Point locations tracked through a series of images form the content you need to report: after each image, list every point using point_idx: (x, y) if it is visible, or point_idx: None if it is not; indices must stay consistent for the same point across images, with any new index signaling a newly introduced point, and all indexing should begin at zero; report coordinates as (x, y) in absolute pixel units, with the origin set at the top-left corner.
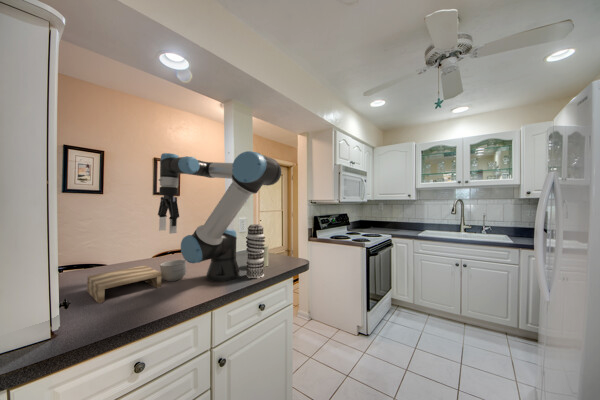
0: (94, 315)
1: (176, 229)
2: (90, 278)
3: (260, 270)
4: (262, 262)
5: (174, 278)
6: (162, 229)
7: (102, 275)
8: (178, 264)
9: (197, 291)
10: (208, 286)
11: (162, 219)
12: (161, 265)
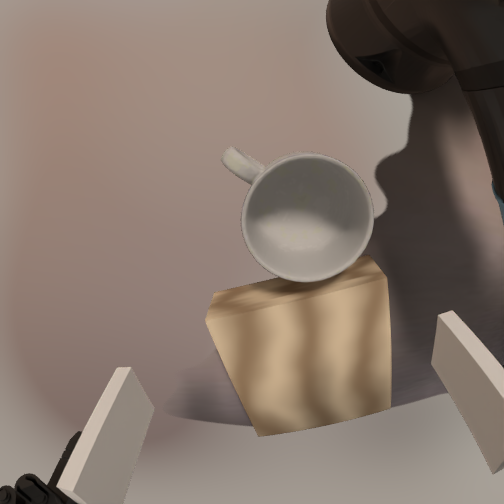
0: None
1: (471, 332)
2: (293, 431)
3: None
4: None
5: (347, 208)
6: (142, 398)
7: (279, 417)
8: (373, 209)
9: (481, 169)
10: (464, 123)
11: (108, 489)
12: (285, 271)
